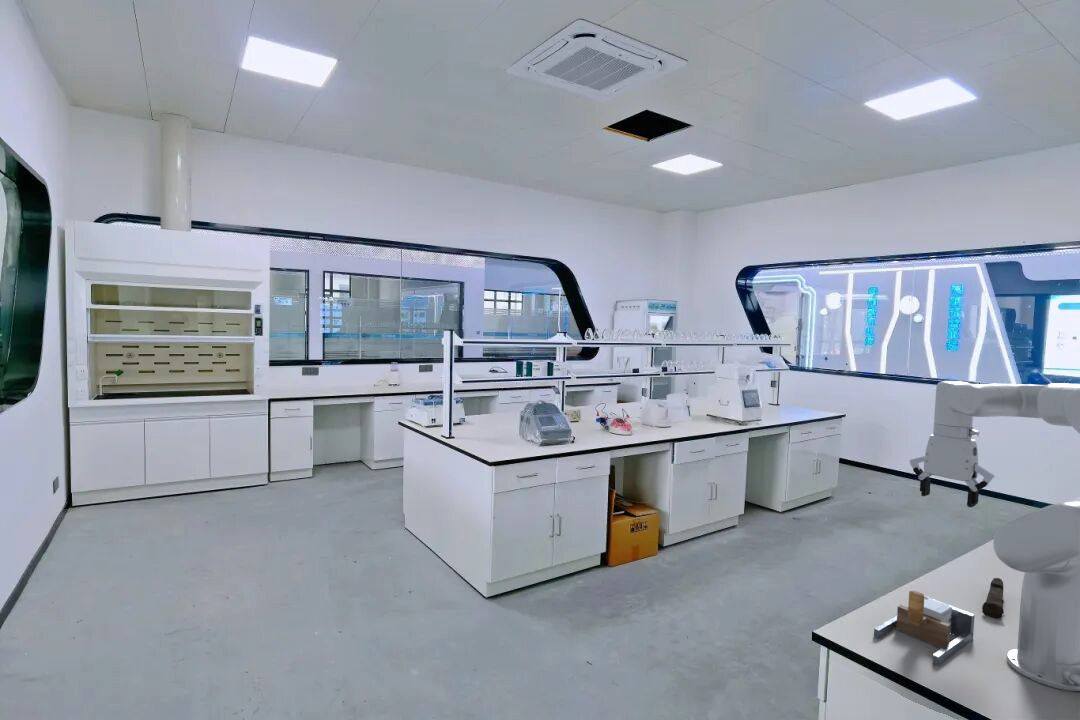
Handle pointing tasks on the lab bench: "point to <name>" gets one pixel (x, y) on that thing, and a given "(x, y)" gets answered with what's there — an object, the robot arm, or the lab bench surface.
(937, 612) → the skincare box
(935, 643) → the sliding jaw
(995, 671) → the lab bench surface
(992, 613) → the hand tool
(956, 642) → the clamp frame
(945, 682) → the lab bench surface
